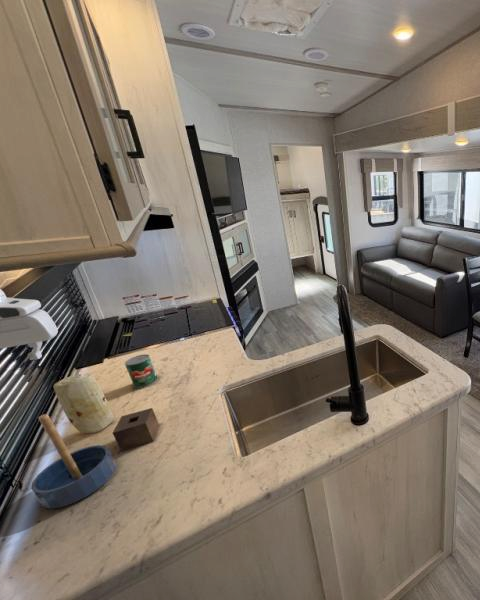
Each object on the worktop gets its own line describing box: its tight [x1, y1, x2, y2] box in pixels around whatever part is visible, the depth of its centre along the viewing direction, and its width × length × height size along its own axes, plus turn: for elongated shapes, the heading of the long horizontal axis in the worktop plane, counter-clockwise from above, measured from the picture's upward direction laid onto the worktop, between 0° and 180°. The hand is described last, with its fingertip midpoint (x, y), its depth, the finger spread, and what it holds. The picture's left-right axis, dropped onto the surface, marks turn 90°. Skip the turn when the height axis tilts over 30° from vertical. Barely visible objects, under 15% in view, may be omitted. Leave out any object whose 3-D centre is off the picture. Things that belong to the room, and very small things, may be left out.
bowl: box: [30, 444, 117, 510], centre depth 81 cm, size 14×14×6 cm
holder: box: [112, 407, 160, 452], centre depth 96 cm, size 8×8×7 cm
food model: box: [53, 372, 115, 434], centre depth 99 cm, size 10×7×20 cm
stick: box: [37, 413, 82, 481], centre depth 78 cm, size 2×2×22 cm
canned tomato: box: [124, 353, 159, 389], centre depth 125 cm, size 8×8×11 cm
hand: (10, 363), depth 75 cm, fingers open, 8 cm apart
